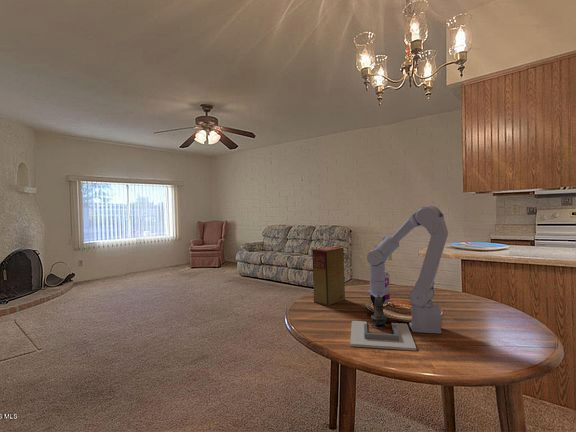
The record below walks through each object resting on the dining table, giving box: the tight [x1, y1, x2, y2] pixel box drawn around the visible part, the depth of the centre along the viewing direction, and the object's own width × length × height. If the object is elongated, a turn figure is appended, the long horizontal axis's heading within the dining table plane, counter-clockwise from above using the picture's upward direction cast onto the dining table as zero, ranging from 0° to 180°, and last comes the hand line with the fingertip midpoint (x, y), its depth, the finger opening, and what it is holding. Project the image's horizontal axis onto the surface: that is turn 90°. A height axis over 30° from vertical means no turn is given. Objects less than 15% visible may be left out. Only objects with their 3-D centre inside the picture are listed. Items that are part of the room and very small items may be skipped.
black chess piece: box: [370, 294, 388, 330], centre depth 116 cm, size 6×6×12 cm
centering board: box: [349, 320, 417, 352], centre depth 108 cm, size 20×20×2 cm
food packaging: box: [311, 246, 346, 307], centre depth 148 cm, size 13×9×25 cm
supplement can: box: [370, 269, 391, 304], centre depth 141 cm, size 8×8×15 cm
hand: (378, 314), depth 123 cm, fingers closed
